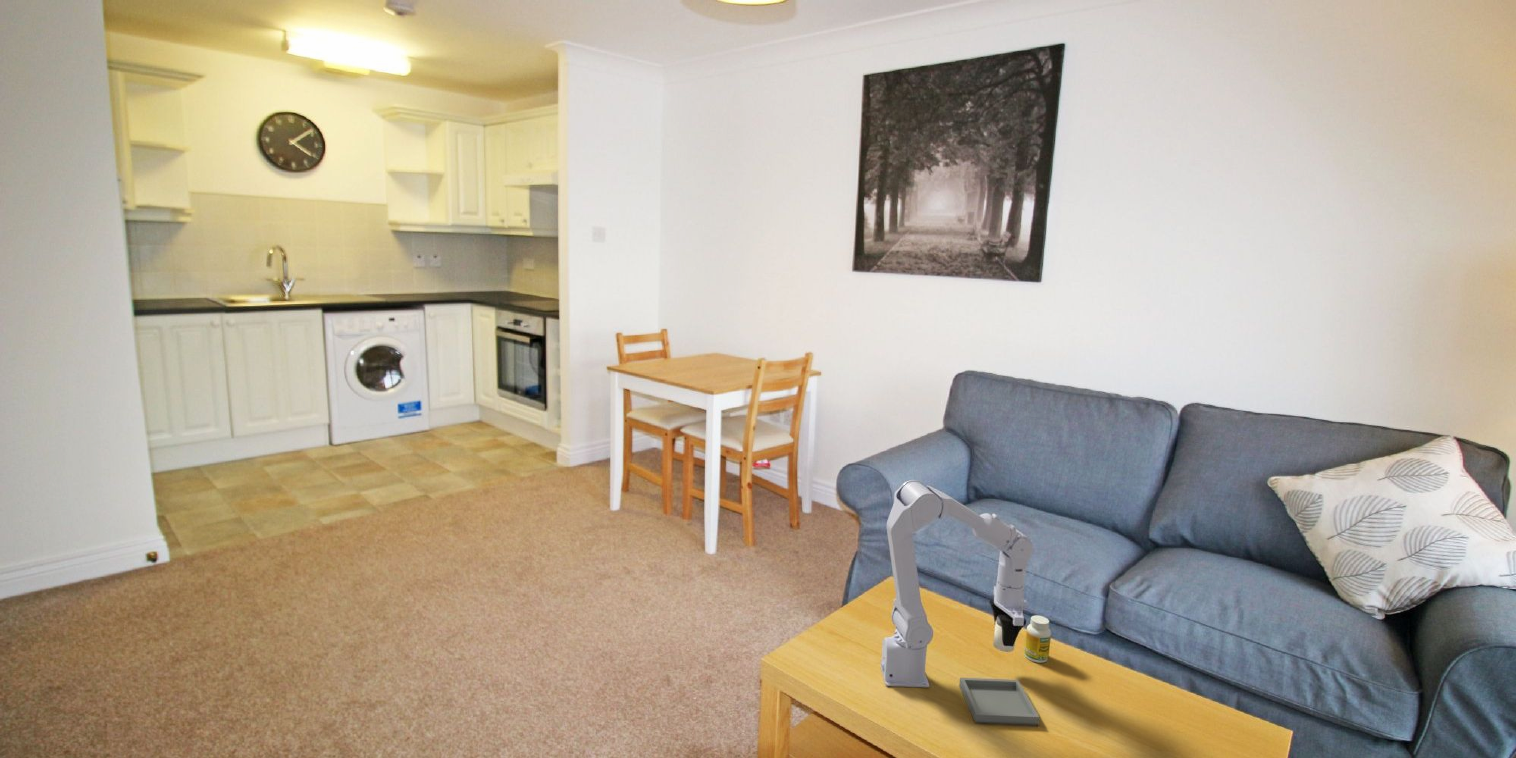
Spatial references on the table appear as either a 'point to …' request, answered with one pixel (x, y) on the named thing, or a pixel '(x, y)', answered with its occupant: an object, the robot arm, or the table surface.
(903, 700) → the table surface
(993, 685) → the tray
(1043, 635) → the supplement bottle
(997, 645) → the cylinder
